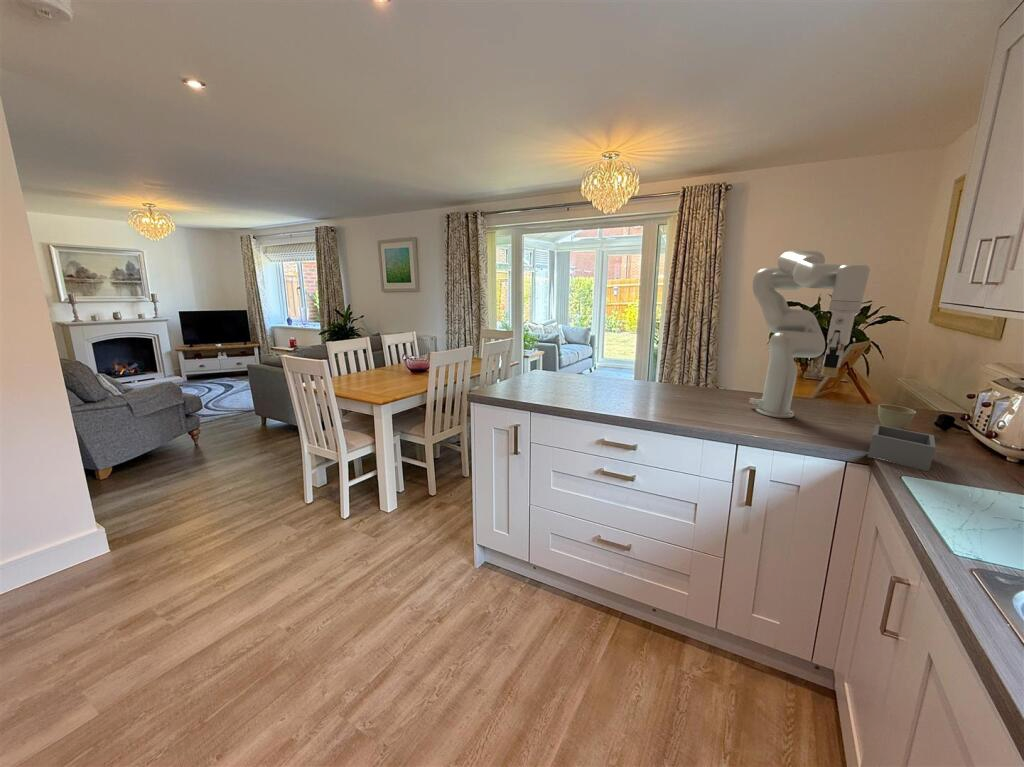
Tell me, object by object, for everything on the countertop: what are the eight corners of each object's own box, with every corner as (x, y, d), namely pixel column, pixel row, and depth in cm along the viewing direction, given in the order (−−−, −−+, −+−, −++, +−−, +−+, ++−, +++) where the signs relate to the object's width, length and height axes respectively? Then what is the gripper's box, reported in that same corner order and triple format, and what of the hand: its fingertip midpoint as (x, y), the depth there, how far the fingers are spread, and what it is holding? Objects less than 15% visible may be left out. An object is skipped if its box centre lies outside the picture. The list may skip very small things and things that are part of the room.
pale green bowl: (867, 424, 152) (871, 405, 150) (884, 421, 155) (889, 403, 153) (899, 434, 143) (905, 414, 141) (917, 431, 146) (922, 411, 144)
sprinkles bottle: (816, 374, 134) (825, 332, 130) (829, 374, 134) (839, 332, 131) (828, 377, 130) (838, 334, 126) (841, 377, 130) (852, 334, 127)
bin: (867, 457, 123) (873, 434, 121) (870, 445, 132) (875, 424, 130) (928, 471, 114) (935, 447, 113) (927, 457, 124) (933, 435, 122)
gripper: (858, 309, 118) (842, 372, 123) (862, 306, 130) (848, 364, 135) (825, 307, 123) (812, 367, 128) (833, 304, 135) (820, 360, 140)
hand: (831, 365), depth 131 cm, fingers closed on sprinkles bottle, 4 cm apart
